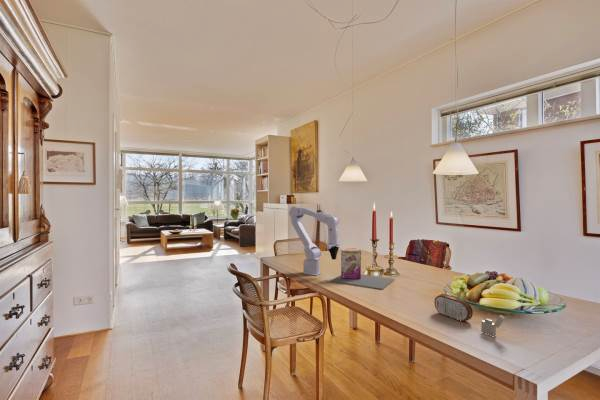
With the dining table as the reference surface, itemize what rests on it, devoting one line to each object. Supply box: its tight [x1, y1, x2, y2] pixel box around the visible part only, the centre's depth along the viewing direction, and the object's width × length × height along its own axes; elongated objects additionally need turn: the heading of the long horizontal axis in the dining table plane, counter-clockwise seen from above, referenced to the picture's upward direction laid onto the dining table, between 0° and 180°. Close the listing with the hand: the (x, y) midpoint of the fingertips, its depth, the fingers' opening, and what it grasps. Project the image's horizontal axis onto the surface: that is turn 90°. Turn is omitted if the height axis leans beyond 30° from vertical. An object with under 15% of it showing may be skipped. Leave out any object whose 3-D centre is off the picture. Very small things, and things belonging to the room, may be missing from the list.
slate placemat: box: [329, 273, 395, 291], centre depth 181 cm, size 30×22×1 cm
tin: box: [433, 293, 474, 322], centre depth 127 cm, size 15×3×8 cm, turn 32°
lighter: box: [480, 314, 506, 337], centre depth 110 cm, size 7×2×8 cm, turn 32°
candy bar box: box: [340, 248, 362, 279], centre depth 185 cm, size 11×5×16 cm, turn 85°
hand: (333, 259), depth 191 cm, fingers closed
